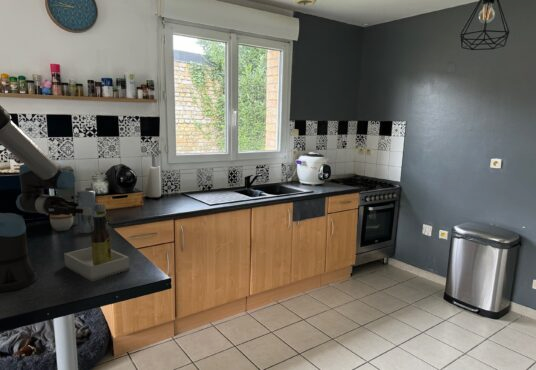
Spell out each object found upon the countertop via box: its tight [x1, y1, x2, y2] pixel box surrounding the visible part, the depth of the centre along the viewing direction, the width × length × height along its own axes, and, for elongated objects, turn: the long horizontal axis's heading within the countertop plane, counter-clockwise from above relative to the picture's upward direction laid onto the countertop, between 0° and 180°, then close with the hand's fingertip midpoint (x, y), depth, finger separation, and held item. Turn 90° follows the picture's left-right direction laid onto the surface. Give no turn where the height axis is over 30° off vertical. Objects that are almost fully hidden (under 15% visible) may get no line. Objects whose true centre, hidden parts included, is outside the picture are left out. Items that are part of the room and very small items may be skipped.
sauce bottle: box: [90, 215, 112, 266], centre depth 136 cm, size 6×6×20 cm
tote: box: [63, 246, 130, 283], centre depth 141 cm, size 22×14×5 cm, turn 49°
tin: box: [76, 189, 96, 234], centre depth 141 cm, size 6×6×15 cm
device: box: [55, 165, 79, 226], centre depth 204 cm, size 16×8×30 cm, turn 33°
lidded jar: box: [48, 214, 73, 232], centre depth 192 cm, size 11×11×9 cm
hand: (97, 209), depth 140 cm, fingers closed on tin, 6 cm apart
